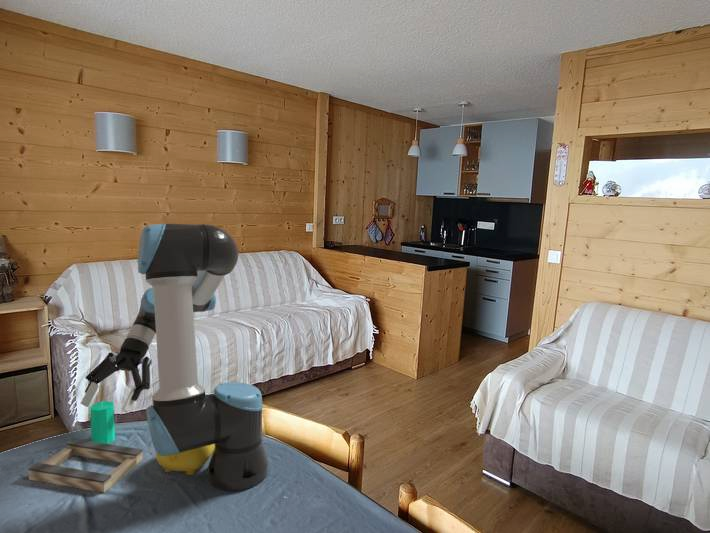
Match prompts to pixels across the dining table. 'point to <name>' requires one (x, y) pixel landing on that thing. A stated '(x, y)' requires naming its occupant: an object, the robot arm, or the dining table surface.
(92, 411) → the candle
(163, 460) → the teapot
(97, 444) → the rectangular wooden frame
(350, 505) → the dining table surface
